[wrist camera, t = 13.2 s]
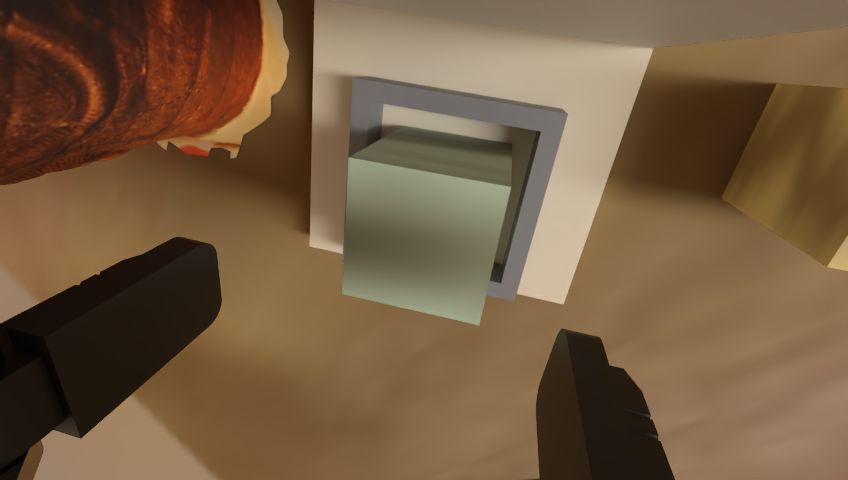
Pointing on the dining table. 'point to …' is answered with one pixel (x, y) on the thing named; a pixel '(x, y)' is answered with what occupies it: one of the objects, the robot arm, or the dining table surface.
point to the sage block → (425, 221)
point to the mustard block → (799, 171)
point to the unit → (511, 100)
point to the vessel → (132, 78)
